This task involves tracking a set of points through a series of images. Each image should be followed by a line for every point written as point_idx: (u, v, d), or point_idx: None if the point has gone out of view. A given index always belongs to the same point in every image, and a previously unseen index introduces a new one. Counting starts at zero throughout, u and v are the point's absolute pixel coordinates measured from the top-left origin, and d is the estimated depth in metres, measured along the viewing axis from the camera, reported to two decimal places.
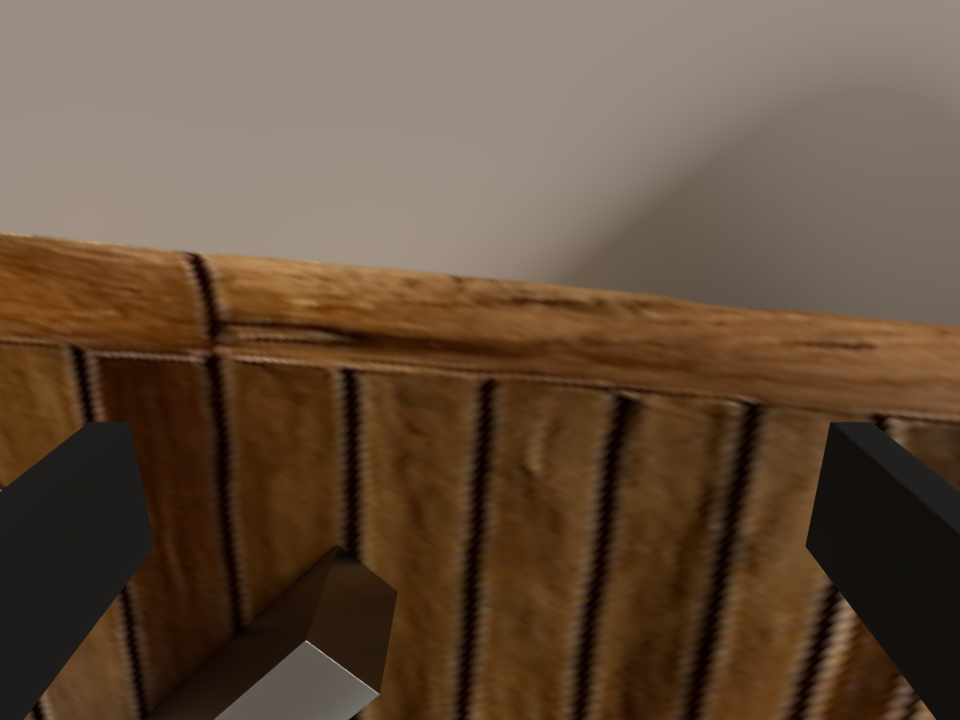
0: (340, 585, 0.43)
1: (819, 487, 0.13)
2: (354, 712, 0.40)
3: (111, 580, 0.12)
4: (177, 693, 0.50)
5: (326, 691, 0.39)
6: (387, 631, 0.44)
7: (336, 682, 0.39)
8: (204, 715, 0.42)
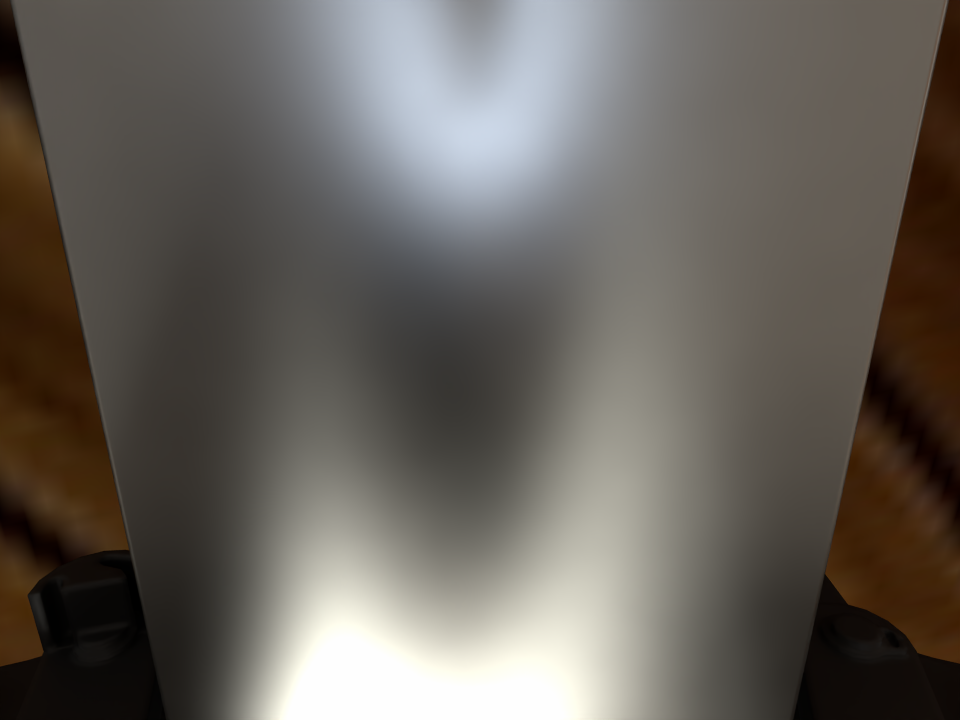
0: None
1: None
2: None
3: None
4: None
5: None
6: None
7: None
8: None
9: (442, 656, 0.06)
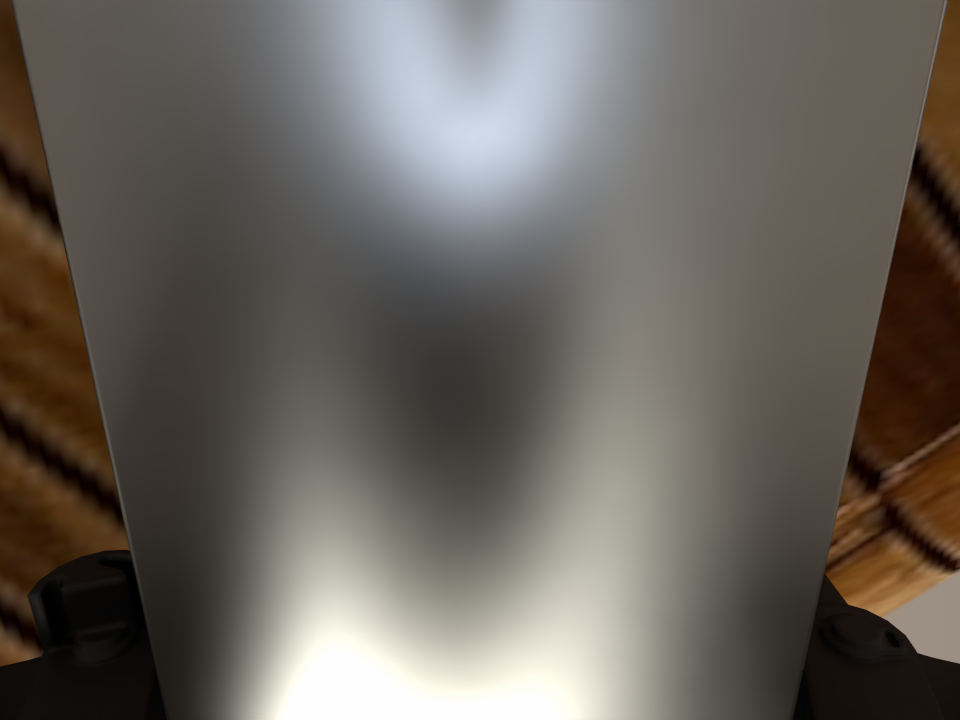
0: None
1: None
2: None
3: None
4: None
5: None
6: None
7: None
8: None
9: (442, 656, 0.06)
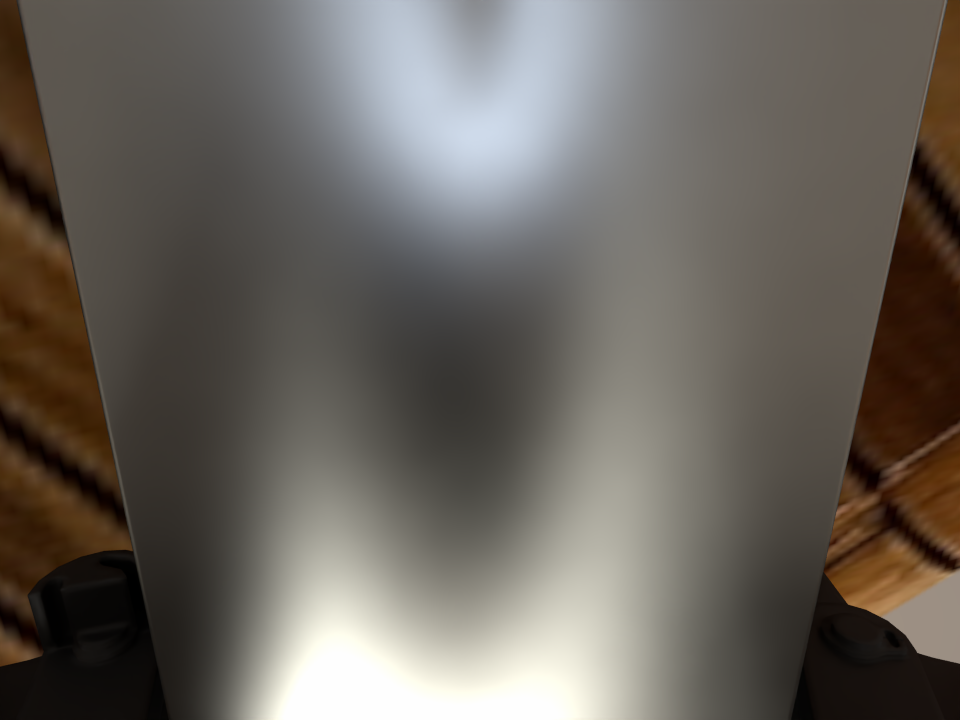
0: None
1: None
2: None
3: None
4: None
5: None
6: None
7: None
8: None
9: (444, 654, 0.06)
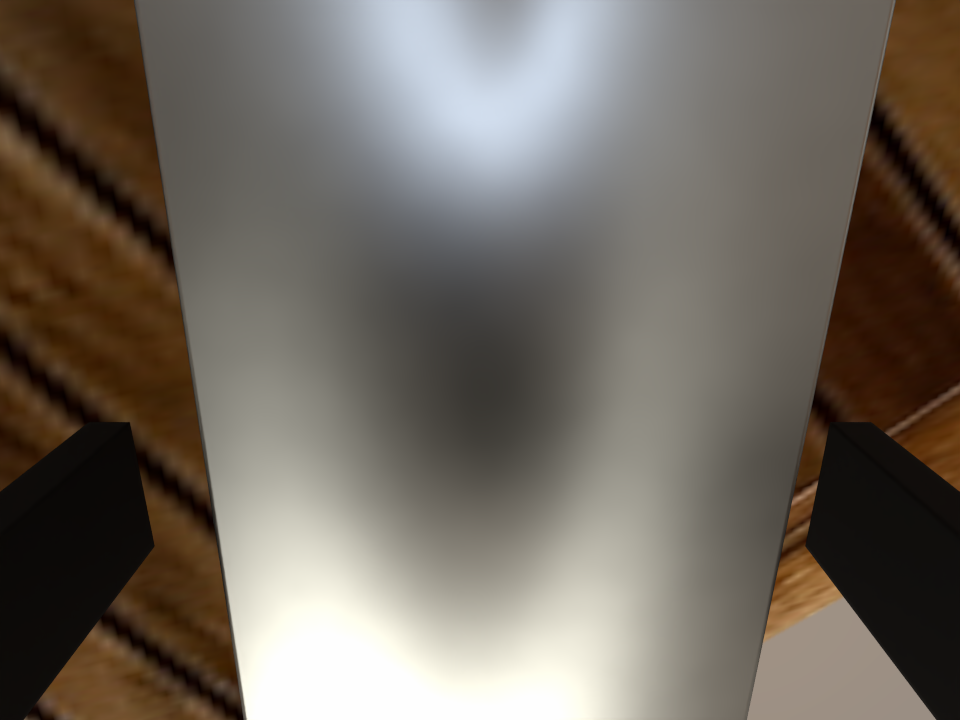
0: None
1: (819, 488, 0.13)
2: None
3: (111, 580, 0.12)
4: None
5: None
6: None
7: None
8: None
9: (467, 502, 0.06)
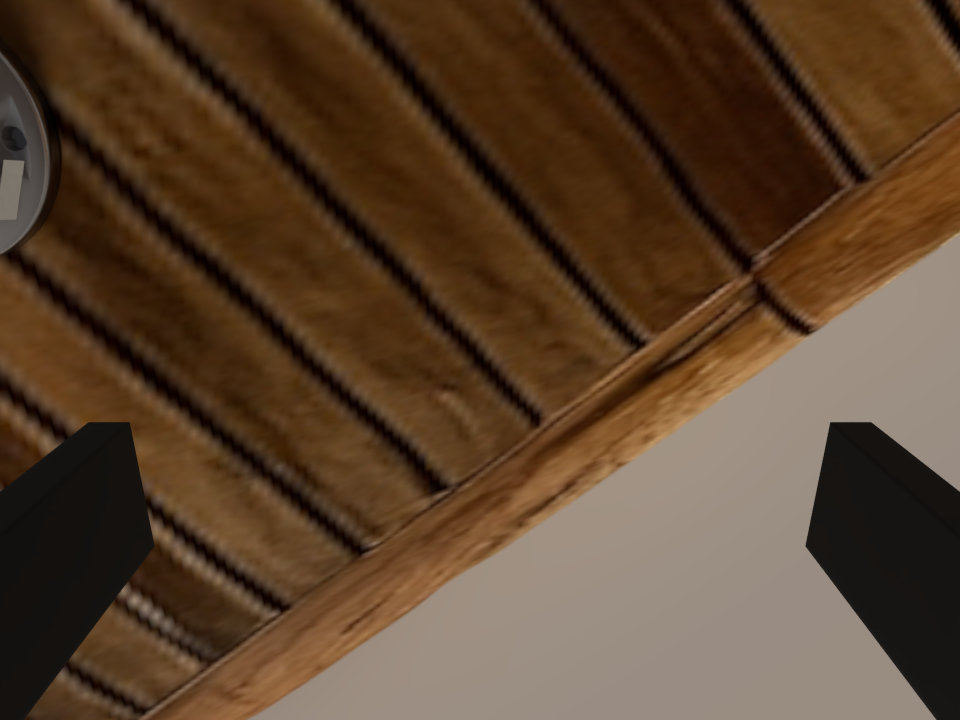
0: None
1: (819, 487, 0.13)
2: None
3: (111, 580, 0.12)
4: None
5: None
6: None
7: None
8: None
9: None
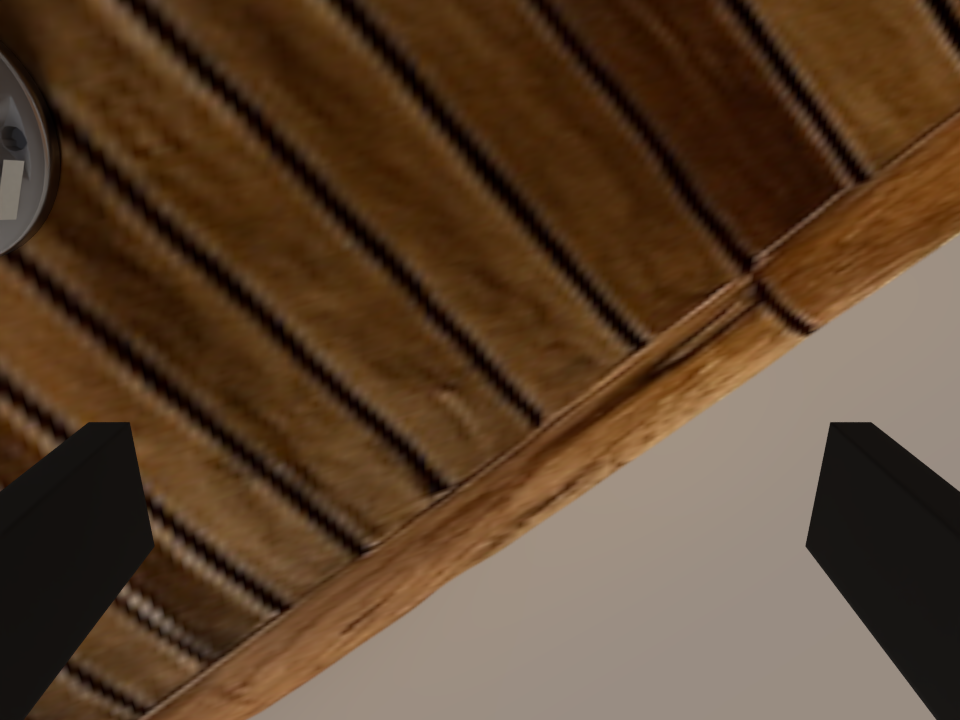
0: None
1: (819, 487, 0.13)
2: None
3: (111, 580, 0.12)
4: None
5: None
6: None
7: None
8: None
9: None
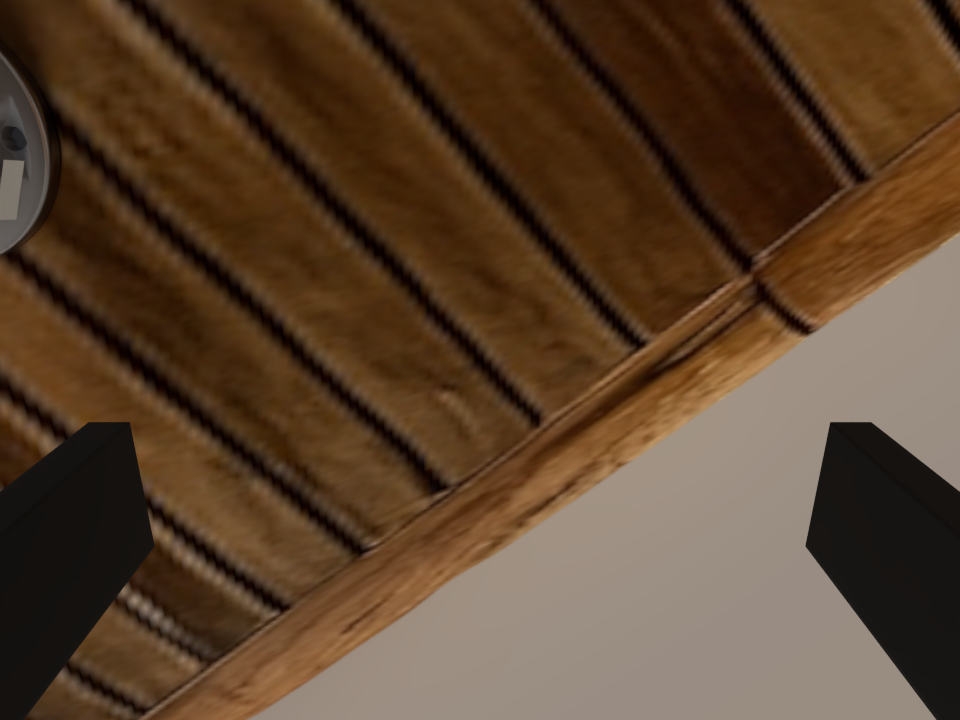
0: None
1: (819, 487, 0.13)
2: None
3: (111, 580, 0.12)
4: None
5: None
6: None
7: None
8: None
9: None
